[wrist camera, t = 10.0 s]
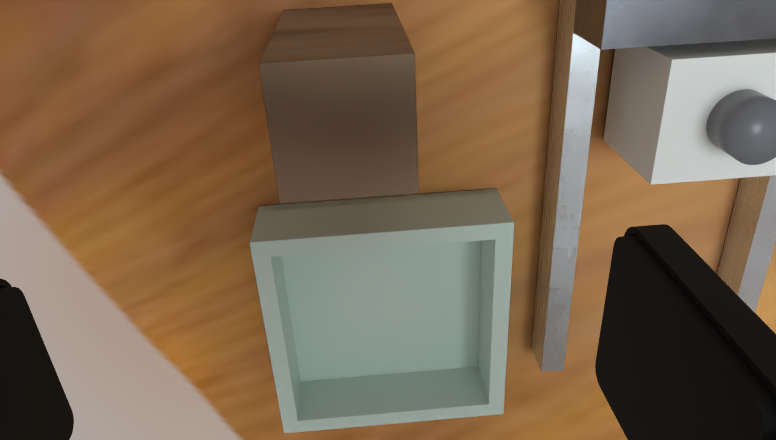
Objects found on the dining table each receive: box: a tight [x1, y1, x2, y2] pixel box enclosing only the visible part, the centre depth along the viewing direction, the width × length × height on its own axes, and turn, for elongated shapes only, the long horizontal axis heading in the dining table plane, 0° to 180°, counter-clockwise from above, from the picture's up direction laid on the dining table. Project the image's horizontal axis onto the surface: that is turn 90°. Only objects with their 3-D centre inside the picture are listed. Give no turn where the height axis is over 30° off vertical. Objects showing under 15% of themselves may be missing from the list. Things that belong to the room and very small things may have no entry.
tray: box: [249, 188, 514, 433], centre depth 31 cm, size 12×12×4 cm
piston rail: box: [531, 0, 776, 372], centre depth 28 cm, size 20×11×5 cm, turn 3°
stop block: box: [259, 3, 419, 204], centre depth 23 cm, size 4×4×9 cm
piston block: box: [604, 38, 776, 184], centre depth 25 cm, size 5×6×7 cm
